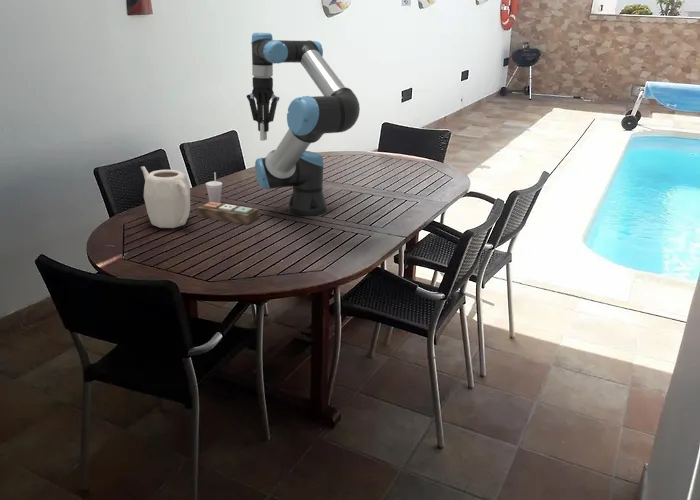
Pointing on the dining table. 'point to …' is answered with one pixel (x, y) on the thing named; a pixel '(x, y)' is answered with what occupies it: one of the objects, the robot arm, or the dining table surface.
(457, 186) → the dining table surface
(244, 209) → the pale green block
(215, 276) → the dining table surface
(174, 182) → the watering can
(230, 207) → the white square block
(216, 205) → the orange square block
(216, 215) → the button board
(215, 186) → the smoothie
